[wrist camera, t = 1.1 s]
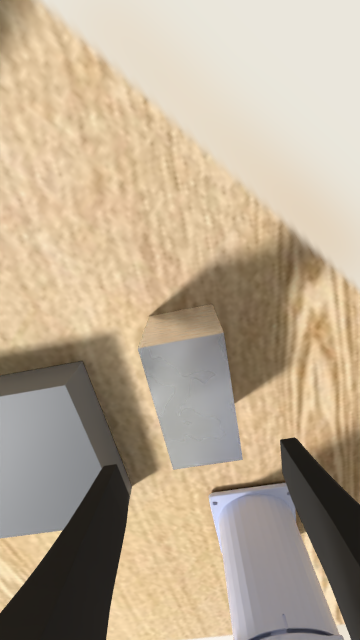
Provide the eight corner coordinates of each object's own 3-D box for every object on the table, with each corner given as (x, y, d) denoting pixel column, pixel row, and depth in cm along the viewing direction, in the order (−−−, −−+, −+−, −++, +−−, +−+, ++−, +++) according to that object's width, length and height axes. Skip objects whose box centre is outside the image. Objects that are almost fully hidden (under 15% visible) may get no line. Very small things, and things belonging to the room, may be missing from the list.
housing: (228, 405, 20) (242, 459, 16) (174, 414, 21) (173, 469, 16) (211, 303, 17) (223, 332, 13) (149, 315, 18) (137, 348, 13)
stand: (131, 486, 24) (125, 521, 21) (14, 503, 24) (-8, 539, 22) (82, 361, 19) (65, 385, 16) (-63, 387, 19) (-104, 414, 17)
